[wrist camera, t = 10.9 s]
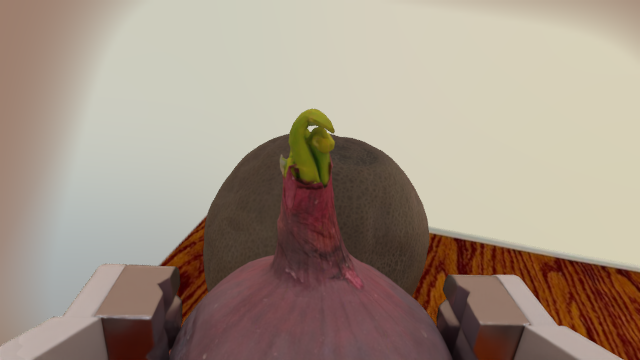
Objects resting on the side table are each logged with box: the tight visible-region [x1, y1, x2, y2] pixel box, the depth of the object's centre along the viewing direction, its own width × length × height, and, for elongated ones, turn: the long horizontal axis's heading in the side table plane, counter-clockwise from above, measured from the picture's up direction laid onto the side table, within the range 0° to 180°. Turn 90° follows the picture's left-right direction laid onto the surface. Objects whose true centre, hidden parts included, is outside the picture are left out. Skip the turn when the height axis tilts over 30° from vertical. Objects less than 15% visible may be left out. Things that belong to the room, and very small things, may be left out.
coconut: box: [203, 132, 429, 297], centre depth 28 cm, size 14×14×15 cm
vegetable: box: [169, 109, 453, 360], centre depth 9 cm, size 6×6×10 cm
